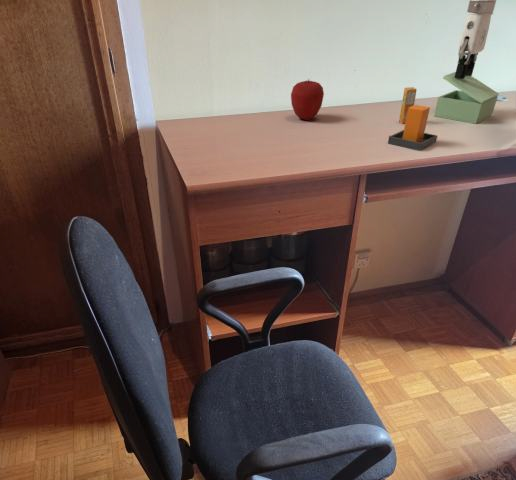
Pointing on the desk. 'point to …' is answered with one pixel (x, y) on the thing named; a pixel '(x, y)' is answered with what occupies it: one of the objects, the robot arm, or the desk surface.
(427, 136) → the tray
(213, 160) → the desk surface
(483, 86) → the lunchbox lid
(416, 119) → the orange block
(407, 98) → the supplement box
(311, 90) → the apple
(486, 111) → the box
